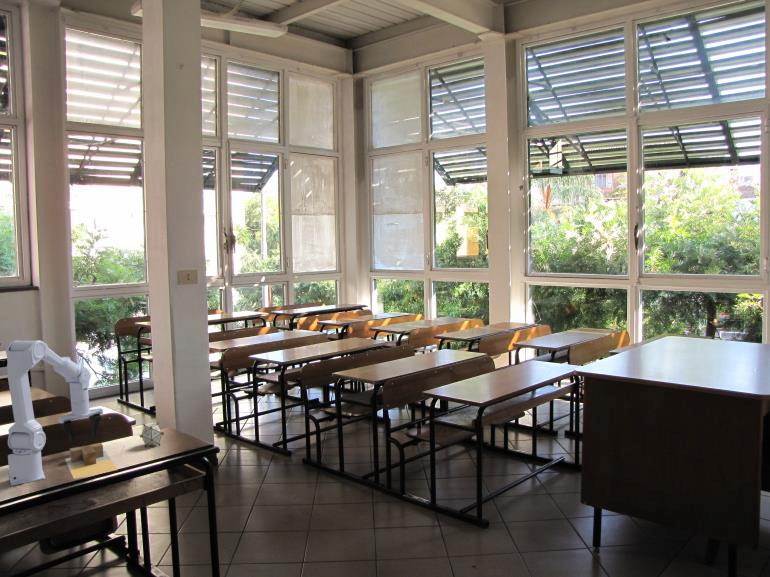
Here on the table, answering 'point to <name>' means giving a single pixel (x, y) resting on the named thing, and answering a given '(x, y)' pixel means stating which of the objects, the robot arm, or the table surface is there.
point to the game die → (151, 434)
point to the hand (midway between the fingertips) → (83, 438)
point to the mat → (91, 467)
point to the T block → (86, 453)
